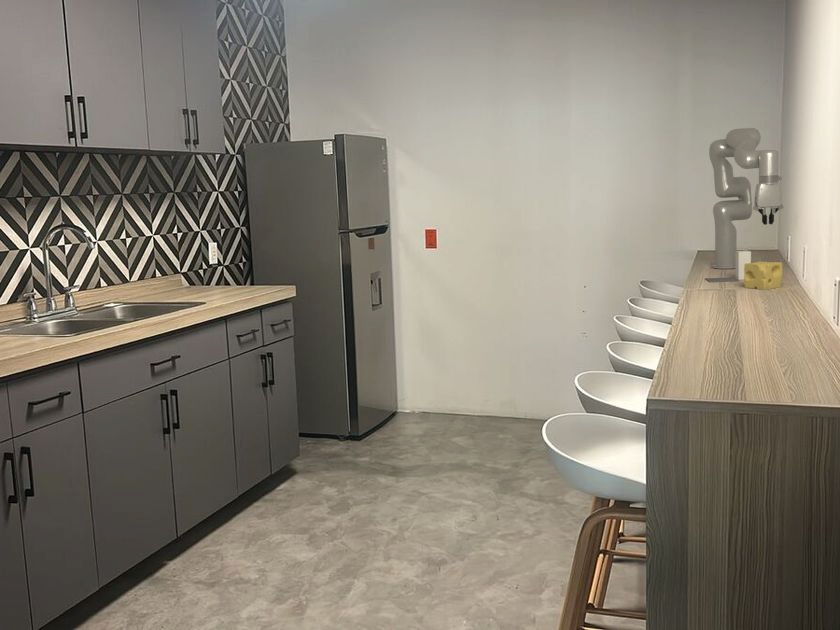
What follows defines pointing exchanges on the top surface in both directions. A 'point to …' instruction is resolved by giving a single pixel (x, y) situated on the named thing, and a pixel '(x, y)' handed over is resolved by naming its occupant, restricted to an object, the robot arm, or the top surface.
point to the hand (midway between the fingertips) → (767, 223)
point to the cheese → (763, 275)
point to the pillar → (741, 263)
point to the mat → (721, 279)
